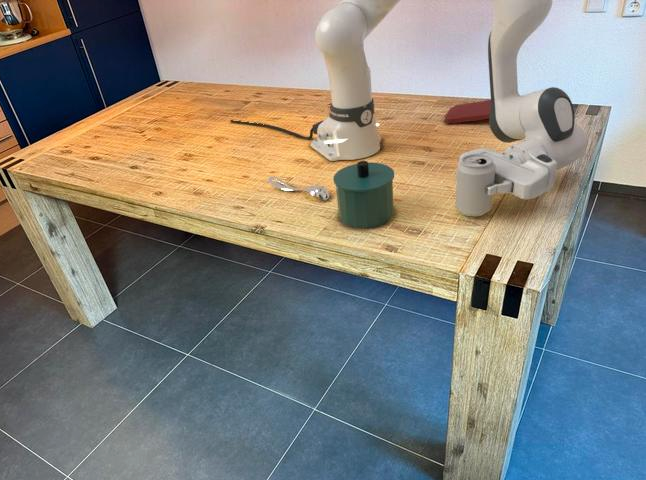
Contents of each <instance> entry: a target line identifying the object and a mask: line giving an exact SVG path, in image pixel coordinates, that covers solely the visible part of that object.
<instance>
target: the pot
mask: <svg viewBox="0 0 646 480" xmlns="http://www.w3.org/2000/svg"><path fill="white" fill-rule="evenodd" d="M393 180H394V179H393ZM393 180H392V181H391V182H390V183H389V184H388V185H386V186H384V187H382V188H379V189H376V190H372V191H366V192H351V191H346V190H343V189H340V188H338V187H337V186H336V185H335V191H336V201H337V209H338V210H337V211H338V217H339V220H340V222H341V223H342V224H344V225H345V226H347V227H349V228H350V227H351V228H354V229H372V228H376V227H380V226H382V225H385V224H386V223H387V222H389V221H390V220H391V219H392V217H393V216H394V209H395V208H394V182H393Z"/></svg>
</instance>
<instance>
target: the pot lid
mask: <svg viewBox="0 0 646 480" xmlns="http://www.w3.org/2000/svg"><path fill="white" fill-rule="evenodd" d="M394 179H395V171H394V169H393V168H392V167H391V166H389V165H387V164H384V163H379V162H370V161H369V162H368V161H367V160H360V161H358V162H357V163H353V164H350V165H347V166H344V167H343V168H341V169H339V170H338V171H336V173H335V174H334V175H333V183H334V185H335V187H336V186H337V187H338V188H340V189H343V190H346V191H351V192H366V191H372V190H376V189H379V188H382V187H384V186H386V185H388V184H389V183H390V182H391V181H392V180H394Z"/></svg>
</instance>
